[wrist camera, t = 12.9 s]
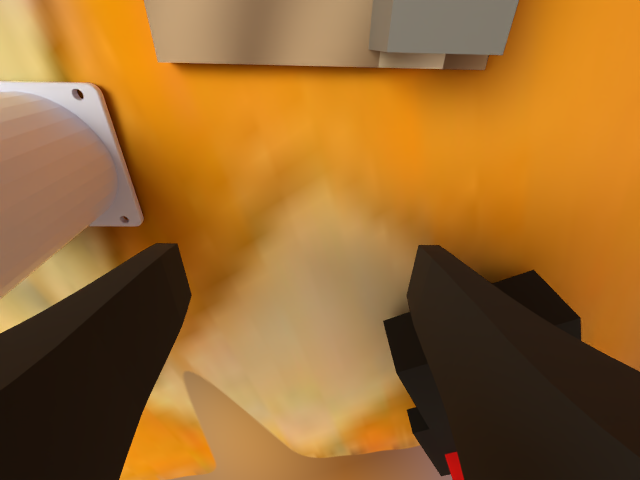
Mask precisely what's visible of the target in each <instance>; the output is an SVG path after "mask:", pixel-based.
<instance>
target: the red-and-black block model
mask: <svg viewBox="0 0 640 480" xmlns="http://www.w3.org/2000/svg"><path fill="white" fill-rule="evenodd" d="M493 285H494V286H495V287H497V288H498V289H500V290H501V291H502V292H504V293H505V294H507V295H508V296H510V297H511V298H512V299H514V300H515V301H517V302H518V303H520V304H522V305H523V306H525V307H526V308H528V309H529V310H531V311H532V312H534V313H535V314H537V315H538V316H540V317H541V318H543V319H545V320H546V321H548V322H550V323H551V324H553V325H554V326H556V327H558V328H560V329H561V330H563V331H565V332H567V333H568V334H570V335H572V336H573V337H575V338H577V339H579V340H580V341H581V319H580V317H579V316H578V315H577V314H576V313H575V312H574V311H573V310H572V309H571V308H570V307H569V306H568V305H567V304H566V303H565V302H564V301H563V300H562V299H561V298H560V296H559V295H558V294H557V293H556V292H555V291H554V290H553V289H552V288H551V287H550V286H549V285H548V284H547V283H546V282H545V281H544V280H543V279H542V278H541V277H540V276H539V275H538V274H537V273H536V272H535V271H534V270H531V271H528V272H526V273H523V274H520V275H517V276H514V277H511V278H508V279H505V280H502V281H499V282H496V283H493ZM383 322H384V326H385V330H386V334H387V338H388V342H389V346H390V350H391V354H392V357H393V361H394V365H395V369H396V373H397V375H398V376H399V378H400V380H401V381H402V383H403V385H404V387H405V388H406V390H407V392H408V393H409V395H410V397H411V398H412V400H413V402H414V403H415V405H416V407H415V408H411V409H408V410H407V412H408V416H409V420H410V424H411V428H412V432H413V434H414V436H415V437H416V439H417V440H418V442H419V443H420V445H421V446H422V448H423V449H424V451H425V452H426V454H427V455H428V457H429V458H430V460H431V461H432V463H433V464H434V466H435V467H436V469H437V470H438V472H439V473H440V475H441V476H444V475H449V474H451V476H452V479H453V480H464V477H463V473H462V469H461V465H460V462H459V458H458V454H457V450H456V446H455V443H454V439H453V435H452V432H451V428H450V425H449V421H448V417H447V414H446V410H445V408H444V405H443V402H442V399H441V396H440V393H439V390H438V388H437V385H436V383H435V380H434V377H433V375H432V372H431V370H430V367H429V364H428V362H427V359H426V357H425V354H424V352H423V349H422V346H421V344H420V341H419V338H418V336H417V333H416V330H415V328H414V325H413V321H412V317H411V313H410V312H408V313H405V314H402V315H399V316H397V317H394V318H391V319H388V320H385V321H383Z"/></svg>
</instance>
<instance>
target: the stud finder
mask: <svg viewBox="0 0 640 480" xmlns="http://www.w3.org/2000/svg"><path fill="white" fill-rule="evenodd" d="M518 1H519V0H373V5H372V16H371V27H370V38H369V50H376V51H382V52H399V53H438V54H477V55H503V52H504V49H505V45H506V42H507V38H508V35H509V32H510V28H511V25H512V22H513V18H514V15H515V12H516V8H517V5H518Z"/></svg>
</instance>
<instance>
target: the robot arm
mask: <svg viewBox="0 0 640 480" xmlns="http://www.w3.org/2000/svg"><path fill="white" fill-rule="evenodd" d="M77 89H79V90H80V91H81V92H82V93H83V96H84V98H83V99H82V98H81V97H79V95H78V94H77ZM123 216H125V217H127V218H128V219H129V220H126V219H124V217H123ZM143 220H144V217H143V214H142V211H141V208H140V205H139V202H138V199H137V196H136V193H135V190H134V187H133V184H132V181H131V178H130V175H129V172H128V169H127V166H126V163H125V160H124V157H123V154H122V151H121V148H120V145H119V142H118V139H117V136H116V133H115V130H114V127H113V123H112V120H111V117H110V114H109V111H108V108H107V105H106V102H105V99H104V96H103V94H102V92H101V90H100V89H99V88H98V87H97V86H96V85H94V84H93V83H84V82H38V81H0V299H1V298H2V297H4V296H5V295H6V294H7V293H8V292H10V291H11V290H12V289H13V288H14V287H16V286H17V285H18V284H19V283H20V282H22V281H23V280H24V279H25V278H26V277H28V276H29V275H30V274H31V273H32V272H34V271H35V270H36V269H37V268H38V267H40V266H41V265H42V264H43V263H44V262H46V261H47V260H48V259H49V258H50V257H52V256H53V255H54V254H55V253H56V252H58V251H59V250H60V249H61V248H62V247H64V246H65V245H66V244H67V243H68V242H70V241H71V240H72V239H73V238H74V237H76V236H77V235H78V234H79V233H80V232H82V231H83V230H84V229H85V228H86V227H88V226H139V225H141V223H142V222H143ZM190 299H191V291H190V288H189V284H188V280H187V277H186V273H185V270H184V266H183V262H182V259H181V255H180V252H179V248H178V244H170V243H156V244H154V245H152V246H150V247H149V248H147V249H145V250H143V251H142V252H140V253H138V254H137V255H135V256H134V257H132V258H130V259H129V260H127V261H126V262H124V263H122V264H121V265H119V266H118V267H116V268H114V269H113V270H111V271H110V272H108V273H106V274H105V275H103V276H102V277H100V278H98V279H97V280H95V281H94V282H92V283H90V284H89V285H87V286H86V287H84V288H82V289H80V290H79V291H77V292H75V293H73V294H72V295H70V296H68V297H67V298H65V299H63V300H61V301H60V302H58V303H56V304H55V305H53V306H51V307H49V308H48V309H46V310H44V311H43V312H41V313H39V314H37V315H35V316H33V317H32V318H30V319H28V320H26V321H24V322H22V323H20V324H18V325H16V326H14V327H12V328H10V329H8V330H6V331H4V332H2V333H0V480H119V478H120V475H121V472H122V469H123V466H124V463H125V460H126V457H127V454H128V451H129V448H130V446H131V443H132V440H133V437H134V434H135V432H136V429H137V426H138V423H139V420H140V417H141V415H142V412H143V410H144V408H145V405H146V403H147V400H148V398H149V396H150V394H151V392H152V389H153V387H154V385H155V383H156V381H157V379H158V377H159V375H160V372H161V370H162V368H163V366H164V364H165V362H166V360H167V358H168V355H169V353H170V351H171V349H172V347H173V345H174V343H175V340H176V338H177V336H178V334H179V332H180V329H181V327H182V325H183V322H184V319H185V316H186V313H187V309H188V306H189V302H190ZM407 299H408V304H409V308H410V313H411V317H412V321H413V325H414V328H415V330H416V333H417V336H418V338H419V341H420V344H421V346H422V349H423V352H424V354H425V357H426V359H427V362H428V364H429V367H430V370H431V372H432V375H433V377H434V380H435V383H436V385H437V388H438V390H439V393H440V396H441V399H442V402H443V405H444V408H445V410H446V414H447V417H448V421H449V425H450V428H451V432H452V435H453V439H454V443H455V446H456V450H457V454H458V458H459V462H460V465H461V469H462V473H463V477H464V480H640V372H639V371H637V370H635V369H633V368H631V367H629V366H628V365H626V364H624V363H622V362H620V361H618V360H616V359H614V358H612V357H610V356H608V355H606V354H604V353H602V352H600V351H598V350H597V349H595V348H593V347H591V346H589V345H587V344H586V343H584V342H582V341H580V340H579V339H577V338H575V337H573V336H572V335H570V334H568V333H567V332H565V331H563V330H561V329H560V328H558V327H556V326H554V325H553V324H551V323H550V322H548V321H546V320H545V319H543V318H541V317H540V316H538V315H537V314H535V313H534V312H532V311H531V310H529V309H528V308H526V307H525V306H523V305H522V304H520V303H518V302H517V301H515V300H514V299H512V298H511V297H510V296H508V295H507V294H505V293H504V292H502V291H501V290H500V289H498V288H497V287H495V286H494V285H493V284H491V283H490V282H488V281H487V280H486V279H484V278H483V277H482V276H480V275H479V274H478V273H476V272H475V271H474V270H472V269H471V268H470V267H468V266H467V265H466V264H464V263H463V262H462V261H460V260H459V259H458V258H456V257H455V256H454V255H452V254H451V253H449V252H448V251H447V250H445V249H444V248H442V247H441V246H439V245H419V246H418V250H417V254H416V258H415V263H414V267H413V271H412V275H411V279H410V284H409V288H408V292H407Z"/></svg>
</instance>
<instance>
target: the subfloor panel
mask: <svg viewBox="0 0 640 480" xmlns="http://www.w3.org/2000/svg"><path fill="white" fill-rule="evenodd" d="M144 3H145V7H146V12H147V16H148V20H149V25H150V29H151V34H152V38H153V42H154V47H155V51H156V55H157V60H158V62H171V63H213V64H254V65H296V66H338V67H379V68H421V69H463V70H485V68H486V64H487V60H488V57H489V55H477V54H438V53H399V52H382V51H376V50H369V38H370V27H371V16H372V5H373V0H144Z"/></svg>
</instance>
